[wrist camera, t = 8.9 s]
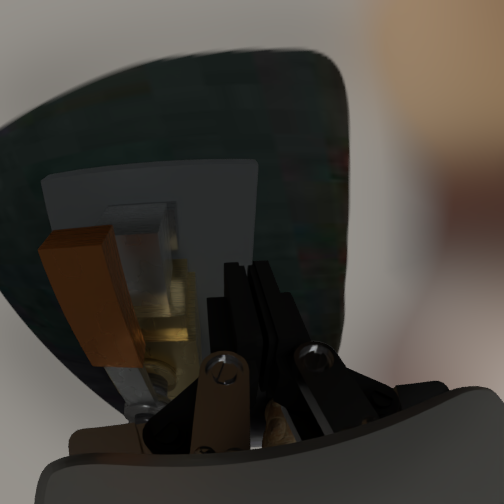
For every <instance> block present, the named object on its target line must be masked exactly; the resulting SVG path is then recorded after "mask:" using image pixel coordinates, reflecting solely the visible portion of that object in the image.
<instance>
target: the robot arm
mask: <svg viewBox="0 0 504 504" xmlns="http://www.w3.org/2000/svg"><path fill="white" fill-rule="evenodd" d="M206 299H207V314H208V328H209V341H210V353H211V354H210V355H208V356H207V357H205V359H204V360H203V361H202V363H201V366H200V370H199V377H198V378H197V379H196V380H195V381H194V382H192V383H191V384H190V385H189V386H188V387H187V388H186V389H184V390H183V391H182V392H181V393H180V394H179V395H178V396H176V397H175V398H174V399H173V400H172V401H171V402H169V403H168V404H167V405H166V406H165V407H163V408H162V409H161V410H160V411H159V412H158V413H156V414H155V415H154V416H153V417H151V418H150V419H149V420H148V421H147V423H143V424H137V425H136V424H135V422H134V423H132V422H130V421H129V423H128V424H121V425H113V426H106V427H97V428H86V429H80V430H77V431H76V432H74V433H73V434H72V435H71V437H70V439H69V446H68V447H69V456H67V457H63V458H61V459H58V460H56V461H53V462H52V463H50V464H48V465H47V466H46V467H45V469H44V470H43V471H42V473H41V475H40V478H39V481H38V485H37V489H36V495H35V503H34V504H504V403H503V401H502V400H501V399H500V398H499V396H498V395H497V394H496V393H495V392H493V391H492V390H491V389H488V388H485V387H479V386H469V387H461V388H456V389H453V390H450V391H449V389H448V387H447V386H446V385H445V384H444V383H442V382H440V381H430V382H422V383H414V384H405V385H396V386H395V387H394V388H391V387H389V386H387V385H385V384H383V383H380V382H378V381H376V380H373V379H371V378H369V377H367V376H364V375H362V374H360V373H357V372H355V371H353V370H351V369H349V368H346V366H345V364H344V363H343V362H342V360H341V359H340V357H339V356H338V354H337V353H336V351H335V350H334V349H333V348H332V347H331V346H329V345H327V344H325V343H322V342H318V341H311V339H310V337H309V335H308V332H307V330H306V328H305V325H304V323H303V320H302V318H301V316H300V313H299V311H298V309H297V306H296V304H295V302H294V299H293V297H292V295H291V293H290V292H284V293H280V291H279V288H278V285H277V283H276V280H275V278H274V275H273V273H272V270H271V267H270V265H269V262H268V261H253V264H252V265H248V268H247V275H246V271H245V267H244V265H243V266H239V263H238V262H227V263H224V297H208V298H206ZM258 382H259V386H260V390H261V392H263V391H266V394H267V398H268V399H269V398H273V401H274V402H276V403H278V404H279V405H281V410H282V412H283V414H284V417H285V419H286V421H287V423H288V425H289V427H290V429H291V431H292V434H293V436H294V438H295V440H296V442H295V443H290V444H284V445H279V446H273V447H267V448H260V449H252V450H250V409H251V408H252V407H253V406H254V405H255V403H256V396H257V389H258Z"/></svg>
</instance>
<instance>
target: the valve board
mask: <svg viewBox="0 0 504 504" xmlns="http://www.w3.org/2000/svg"><path fill="white" fill-rule="evenodd" d="M257 178H258V163H257V162H256V160H255V159H199V160H175V161H158V162H144V163H133V164H122V165H113V166H104V167H96V168H88V169H81V170H74V171H67V172H61V173H55V174H50V175H48V176H47V177H45V178H44V179H43V180H41V185H42V190H43V195H44V200H45V204H46V209H47V213H48V217H49V221H50V225H51V228H52V231H53V230H59V229H69V228H80V227H91V226H95V225H96V223H97V222H98V220H99V219H100V217H101V216H102V214H103V213H104V211H105V210H106V208H107V207H108V205H119V204H133V203H148V202H165V201H177V216H178V229H179V246H178V250H171V256H172V259H187V263H188V272H195V277H196V289H197V301H198V311H199V321H200V330H201V351H202V361H203V360H204V359H205V357H207V356H208V355H210V354H211V353H210V341H209V328H208V314H207V299H206V298H208V297H224V263H227V262H238V263H239V266H243V265H244V267H245V271H246V275H247V268H248V265H252V255H253V240H254V225H255V209H256V194H257Z"/></svg>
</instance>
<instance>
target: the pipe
mask: <svg viewBox="0 0 504 504" xmlns="http://www.w3.org/2000/svg"><path fill="white" fill-rule="evenodd" d="M265 420H266V429H265V431H264V435H263V440H262V448H267V447H273V446H279V445H284V444H290V443H295V442H296V440H295V438H294V436H293V434H292V431H291V429H290V427H289V425H288V423H287V421H286V419H285V417H284V414H283V412H282V410H281V405H279V404H278V403H276V402H274V401H273V398H272V399H271V400H269V402H268V404H267V405H266V408H265Z"/></svg>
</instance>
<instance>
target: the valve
mask: <svg viewBox="0 0 504 504" xmlns="http://www.w3.org/2000/svg"><path fill="white" fill-rule="evenodd" d="M102 225H113V229H114V234H115V238H116V243H117V247H118V252H119V256H120V260H121V264H122V268H123V272H124V276H125V279H126V283H127V287H128V290H129V294H130V297H131V301H132V304H133V307H134V311H135V314H136V317H137V320H138V323H139V326H140V329H141V332H142V335H143V338H144V341H145V344H146V347H145V356H144V367H145V369H146V371H147V373H148V376H149V378H150V380H151V382H152V385H153V387H154V389H155V391H156V393H157V394H161V395H163V396H165V397H167V398H169V399H170V400H171V401H172V400H173V399H174V398H175V397H176V396H178V395H179V394H180V393H181V392H182V391H183V390H184V389H186V388H187V387H188V386H189V385H190V384H191V383H192V382H194V381H195V380H196V379H197V378H198V377H199V370H200V366H201V363H202V351H201V330H200V321H199V311H198V301H197V289H196V277H195V272H188V263H187V259H172V256H171V250H178V246H179V229H178V216H177V201H165V202H148V203H133V204H119V205H108V207H107V208H106V210H105V211H104V213H103V214H102V216H101V217H100V219H99V220H98V222H97V223H96V225H95V226H102ZM104 368H105V367H104ZM105 370H106V369H105ZM106 372H107V371H106ZM107 373H108V372H107ZM108 375H109V374H108ZM109 377H110V376H109ZM110 379H111V377H110ZM111 380H112V379H111ZM112 382H113V381H112ZM113 384H114V382H113ZM114 385H115V384H114ZM115 387H116V386H115ZM116 389H117V387H116ZM117 390H118V389H117ZM118 392H119V390H118ZM119 393H120V392H119ZM120 394H121V393H120Z"/></svg>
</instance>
